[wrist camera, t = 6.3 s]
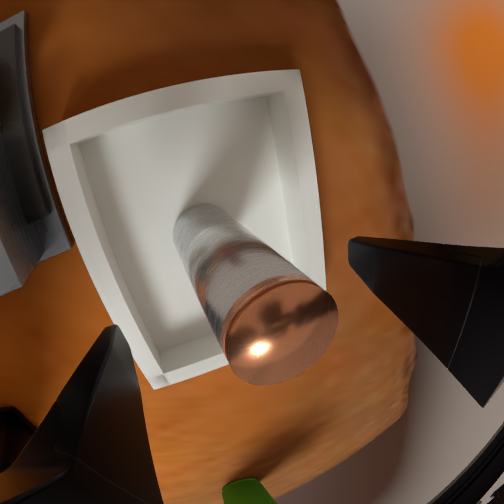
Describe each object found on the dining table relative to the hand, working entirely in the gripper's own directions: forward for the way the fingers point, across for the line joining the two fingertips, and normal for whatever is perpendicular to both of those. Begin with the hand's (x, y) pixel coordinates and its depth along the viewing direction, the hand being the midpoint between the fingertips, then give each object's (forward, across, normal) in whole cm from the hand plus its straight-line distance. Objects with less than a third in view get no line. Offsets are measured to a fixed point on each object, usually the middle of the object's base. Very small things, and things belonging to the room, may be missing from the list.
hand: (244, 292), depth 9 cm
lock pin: (+6, 0, 0) cm, 6 cm away
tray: (+6, 0, 0) cm, 6 cm away
